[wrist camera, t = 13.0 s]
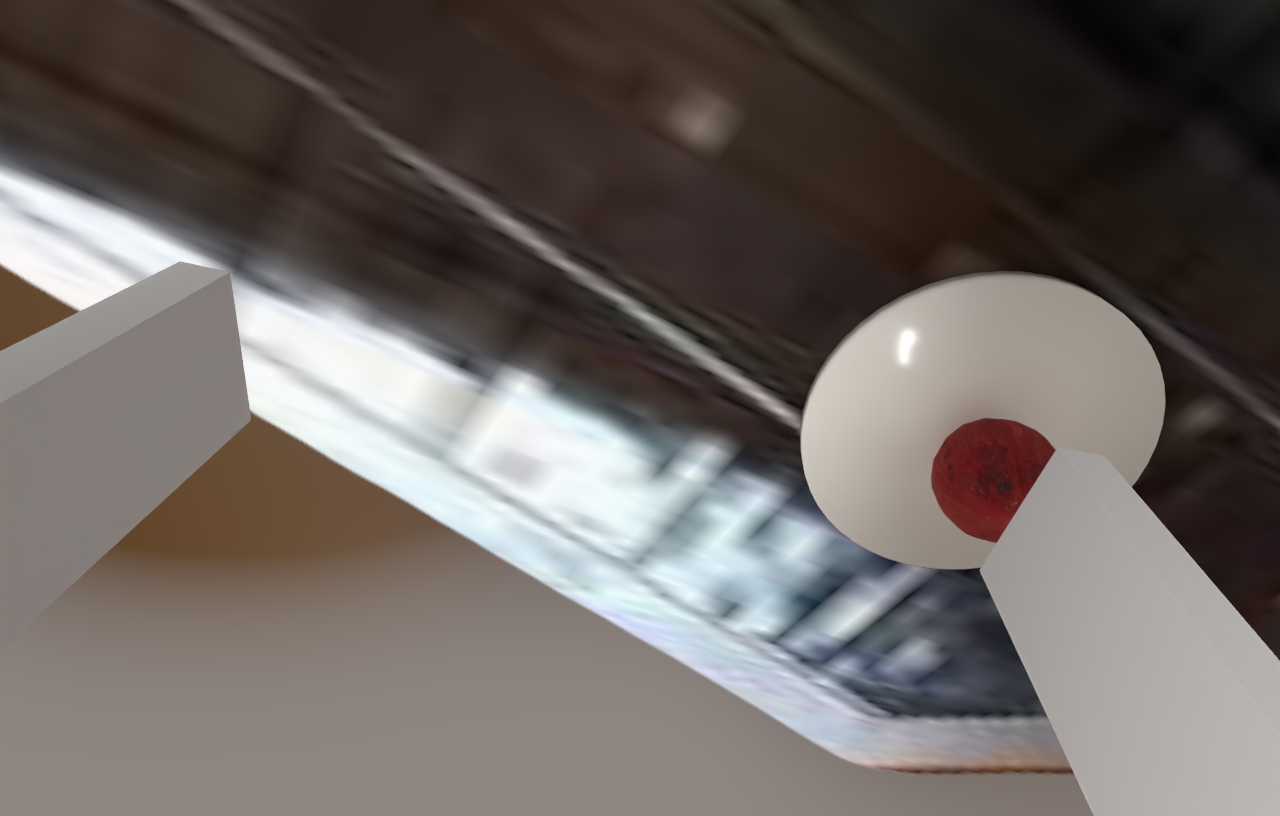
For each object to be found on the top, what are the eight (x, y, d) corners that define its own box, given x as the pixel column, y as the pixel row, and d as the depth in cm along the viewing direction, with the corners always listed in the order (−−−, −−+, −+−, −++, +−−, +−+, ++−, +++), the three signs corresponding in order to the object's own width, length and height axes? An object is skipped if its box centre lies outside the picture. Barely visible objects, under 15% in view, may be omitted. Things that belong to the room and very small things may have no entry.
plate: (870, 231, 32) (875, 238, 31) (1230, 319, 33) (1247, 329, 32) (759, 516, 41) (760, 529, 40) (1042, 584, 42) (1050, 598, 41)
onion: (901, 413, 36) (945, 507, 29) (1016, 374, 34) (1093, 464, 27) (930, 496, 38) (978, 601, 31) (1040, 463, 36) (1116, 567, 29)
